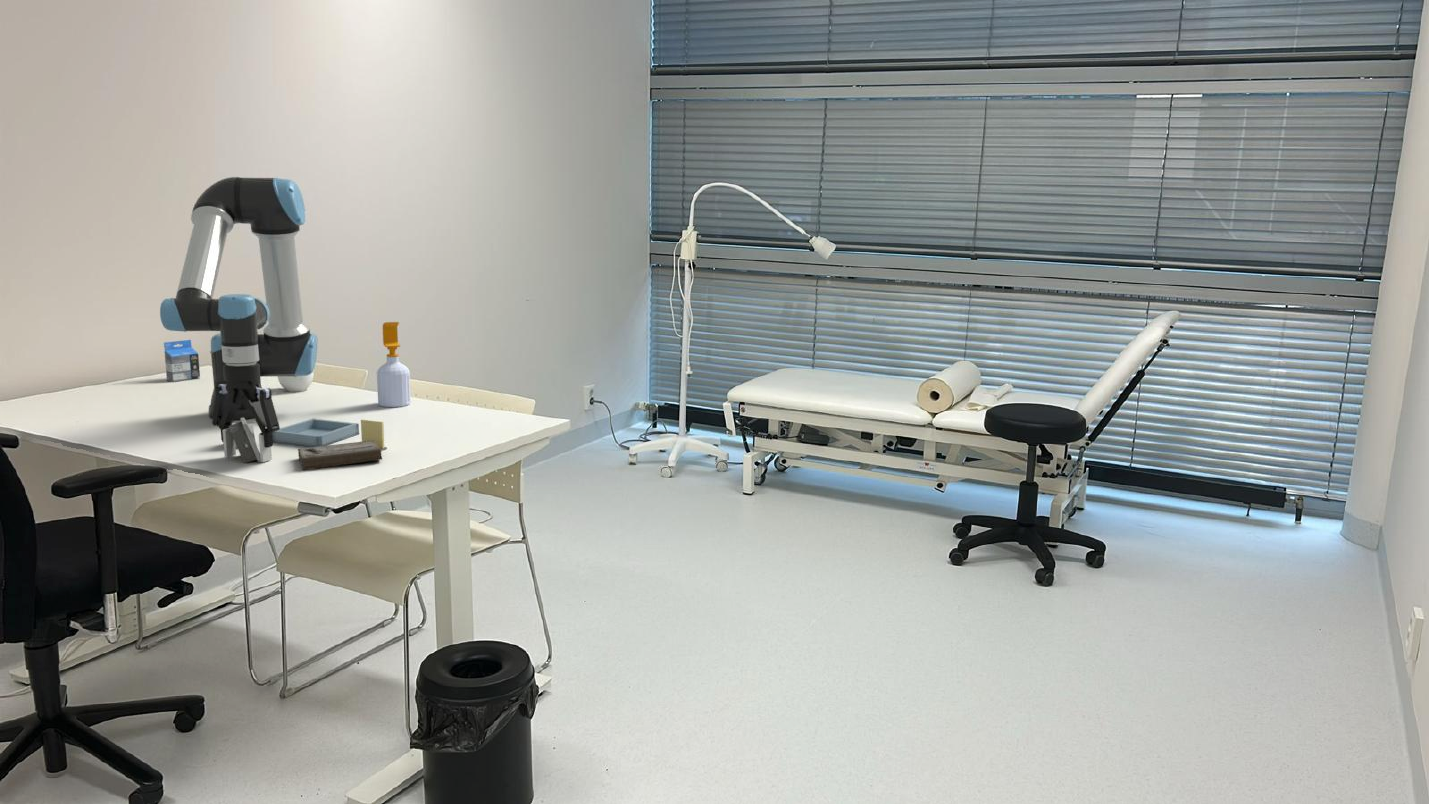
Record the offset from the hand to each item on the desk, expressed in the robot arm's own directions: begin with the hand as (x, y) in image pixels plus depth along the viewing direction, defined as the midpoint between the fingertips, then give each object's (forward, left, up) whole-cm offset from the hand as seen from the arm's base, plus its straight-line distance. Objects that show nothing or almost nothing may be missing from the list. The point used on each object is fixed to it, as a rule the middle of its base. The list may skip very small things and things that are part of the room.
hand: (248, 458), depth 224 cm
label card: (+20, +19, 0) cm, 28 cm away
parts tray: (+1, +22, 0) cm, 22 cm away
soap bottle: (-5, +63, 0) cm, 63 cm away
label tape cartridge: (-86, +66, 0) cm, 108 cm away
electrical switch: (0, 0, 0) cm, 1 cm away
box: (+20, +7, -1) cm, 21 cm away
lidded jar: (-44, +68, 0) cm, 81 cm away
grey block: (-11, +9, 0) cm, 14 cm away
